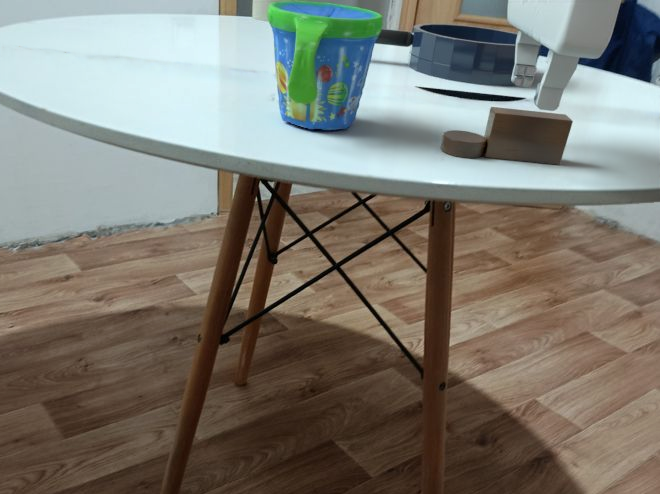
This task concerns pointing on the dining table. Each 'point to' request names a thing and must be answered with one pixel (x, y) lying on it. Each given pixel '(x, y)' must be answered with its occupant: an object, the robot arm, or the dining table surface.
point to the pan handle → (395, 38)
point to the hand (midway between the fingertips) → (531, 96)
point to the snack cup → (321, 60)
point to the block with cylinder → (514, 137)
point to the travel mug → (263, 8)
